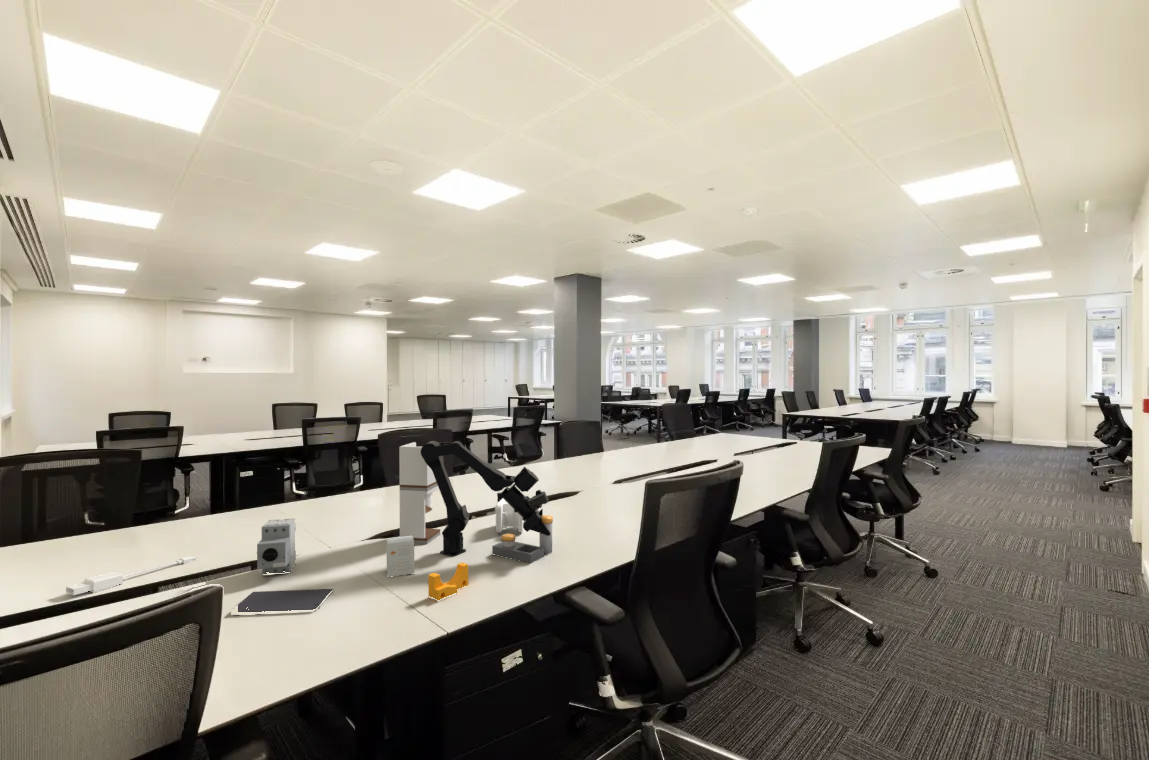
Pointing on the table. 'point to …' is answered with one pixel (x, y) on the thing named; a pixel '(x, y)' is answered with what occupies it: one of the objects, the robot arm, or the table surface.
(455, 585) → the pipe clamp
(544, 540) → the plug
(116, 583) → the charging cable
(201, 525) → the table surface
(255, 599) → the notebook
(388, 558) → the small box
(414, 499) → the display case
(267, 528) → the circuit breaker
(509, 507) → the cable organizer
